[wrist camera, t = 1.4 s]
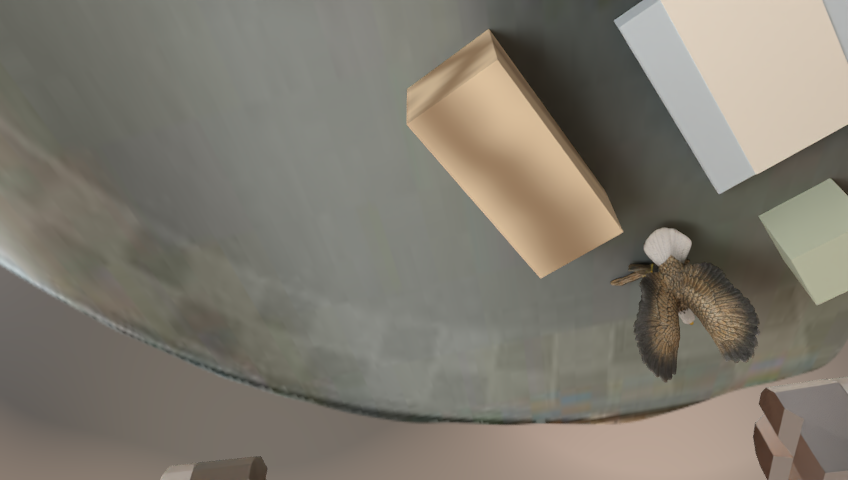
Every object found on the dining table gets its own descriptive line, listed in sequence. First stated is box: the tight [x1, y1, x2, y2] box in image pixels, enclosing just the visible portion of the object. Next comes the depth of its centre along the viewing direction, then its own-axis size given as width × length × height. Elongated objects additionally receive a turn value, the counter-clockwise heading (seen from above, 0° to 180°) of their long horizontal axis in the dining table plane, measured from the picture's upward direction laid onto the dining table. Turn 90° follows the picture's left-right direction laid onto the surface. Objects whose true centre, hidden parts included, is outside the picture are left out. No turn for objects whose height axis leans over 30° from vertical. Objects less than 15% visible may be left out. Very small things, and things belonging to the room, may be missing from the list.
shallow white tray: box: [614, 0, 848, 194], centre depth 39 cm, size 12×14×1 cm
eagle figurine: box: [611, 227, 760, 383], centre depth 45 cm, size 8×7×9 cm
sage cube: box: [758, 178, 848, 305], centre depth 45 cm, size 5×5×5 cm
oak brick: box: [407, 29, 623, 278], centre depth 41 cm, size 6×14×5 cm, turn 38°
